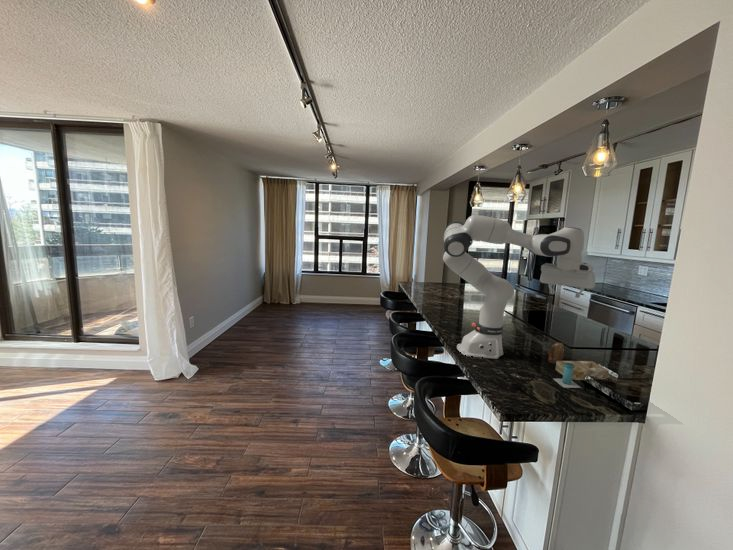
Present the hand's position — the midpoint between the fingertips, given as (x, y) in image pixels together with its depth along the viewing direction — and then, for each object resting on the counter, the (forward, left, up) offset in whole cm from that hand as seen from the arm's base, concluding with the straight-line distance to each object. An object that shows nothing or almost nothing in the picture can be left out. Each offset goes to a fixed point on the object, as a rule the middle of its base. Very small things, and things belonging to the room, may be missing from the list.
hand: (564, 295), depth 132 cm
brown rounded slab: (+4, +6, -34) cm, 34 cm away
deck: (-6, -16, -33) cm, 38 cm away
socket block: (+5, -9, -33) cm, 35 cm away
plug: (-6, -16, -33) cm, 37 cm away
